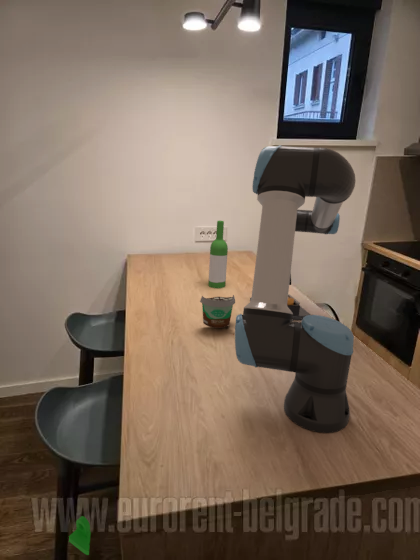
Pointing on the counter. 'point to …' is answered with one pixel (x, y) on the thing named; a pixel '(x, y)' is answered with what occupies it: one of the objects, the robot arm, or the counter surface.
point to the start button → (290, 301)
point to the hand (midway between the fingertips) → (276, 295)
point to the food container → (217, 311)
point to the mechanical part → (81, 535)
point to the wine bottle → (218, 259)
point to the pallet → (297, 310)
